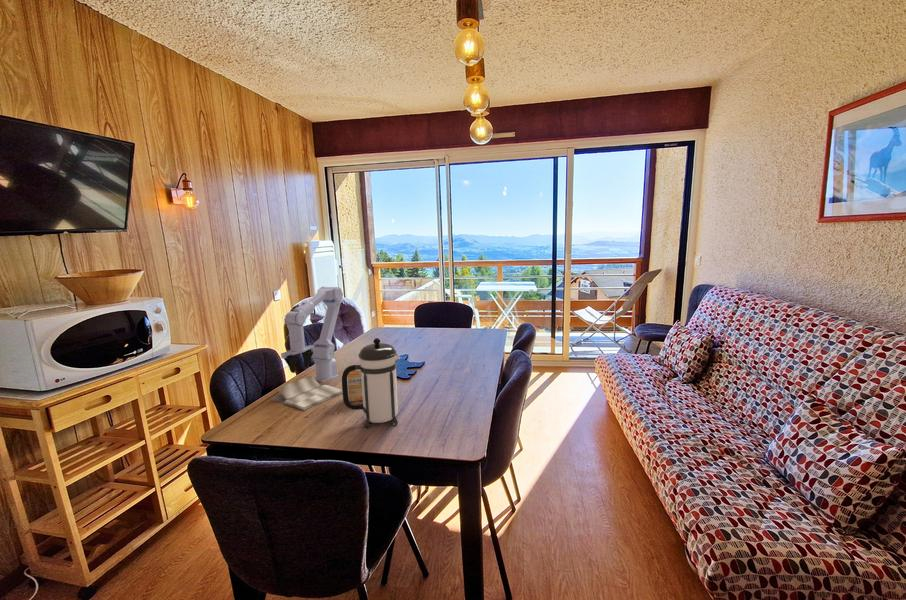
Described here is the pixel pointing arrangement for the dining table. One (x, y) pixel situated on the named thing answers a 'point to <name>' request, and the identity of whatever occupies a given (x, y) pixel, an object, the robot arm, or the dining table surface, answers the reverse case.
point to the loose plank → (298, 387)
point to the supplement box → (355, 386)
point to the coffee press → (375, 383)
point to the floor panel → (310, 397)
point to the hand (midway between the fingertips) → (299, 369)
